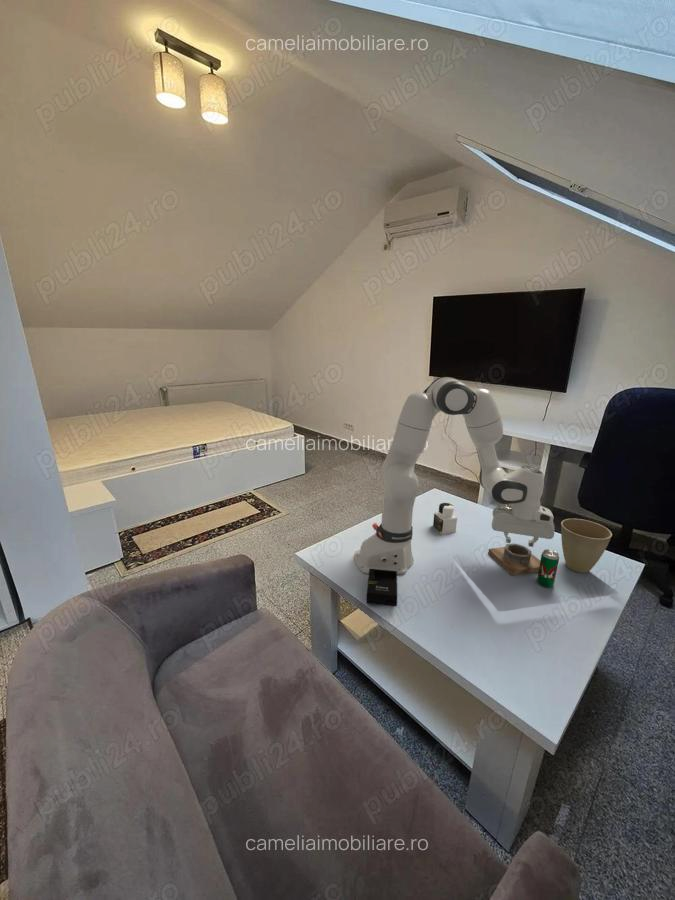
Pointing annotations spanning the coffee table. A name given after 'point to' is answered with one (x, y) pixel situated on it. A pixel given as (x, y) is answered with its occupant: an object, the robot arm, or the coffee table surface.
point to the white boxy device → (445, 519)
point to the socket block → (515, 559)
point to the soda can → (548, 568)
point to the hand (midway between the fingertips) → (519, 544)
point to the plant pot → (583, 543)
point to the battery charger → (382, 587)
